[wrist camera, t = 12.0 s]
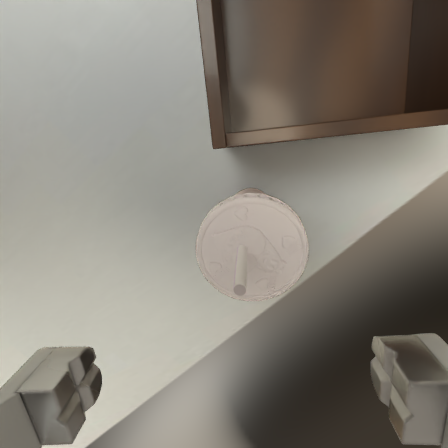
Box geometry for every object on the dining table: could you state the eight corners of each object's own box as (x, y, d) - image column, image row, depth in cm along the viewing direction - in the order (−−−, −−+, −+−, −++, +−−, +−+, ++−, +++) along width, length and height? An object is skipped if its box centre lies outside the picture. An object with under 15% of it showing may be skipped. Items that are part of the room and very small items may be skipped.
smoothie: (233, 159, 23) (212, 191, 10) (301, 192, 24) (366, 264, 10) (203, 224, 25) (153, 322, 12) (266, 253, 26) (284, 380, 12)
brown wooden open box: (223, 144, 23) (212, 149, 16) (201, -78, 19) (173, -205, 12) (411, 125, 22) (489, 120, 14) (433, -125, 17) (560, -303, 10)
